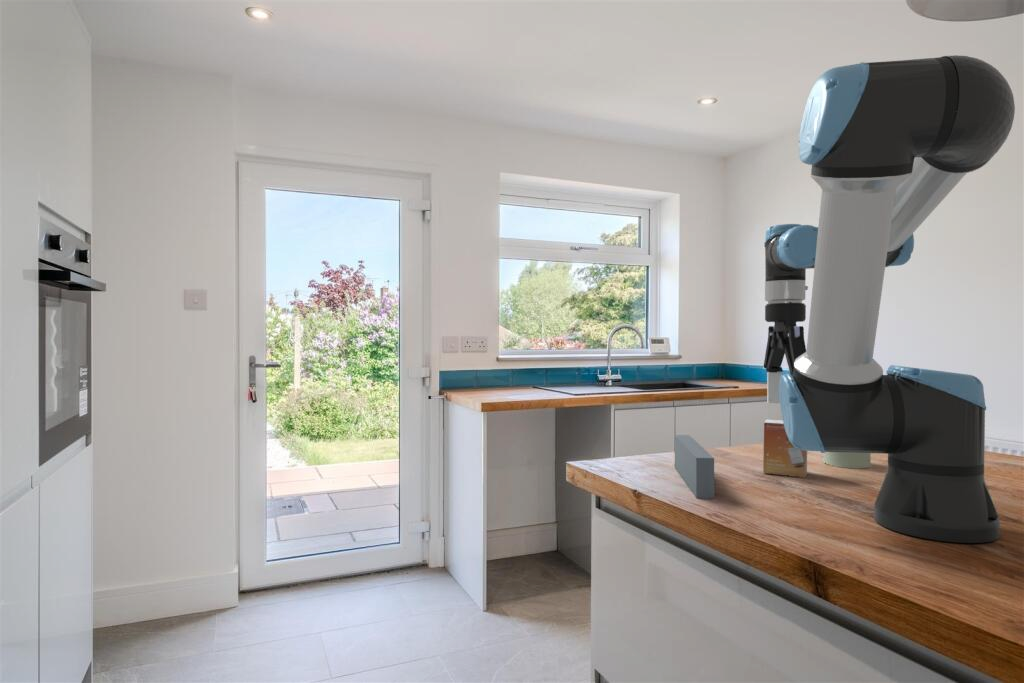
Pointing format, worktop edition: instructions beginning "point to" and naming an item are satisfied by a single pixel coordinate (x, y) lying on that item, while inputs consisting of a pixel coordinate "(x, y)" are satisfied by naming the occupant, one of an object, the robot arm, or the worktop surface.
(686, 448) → the wall
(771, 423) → the small box
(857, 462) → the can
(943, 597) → the worktop surface
